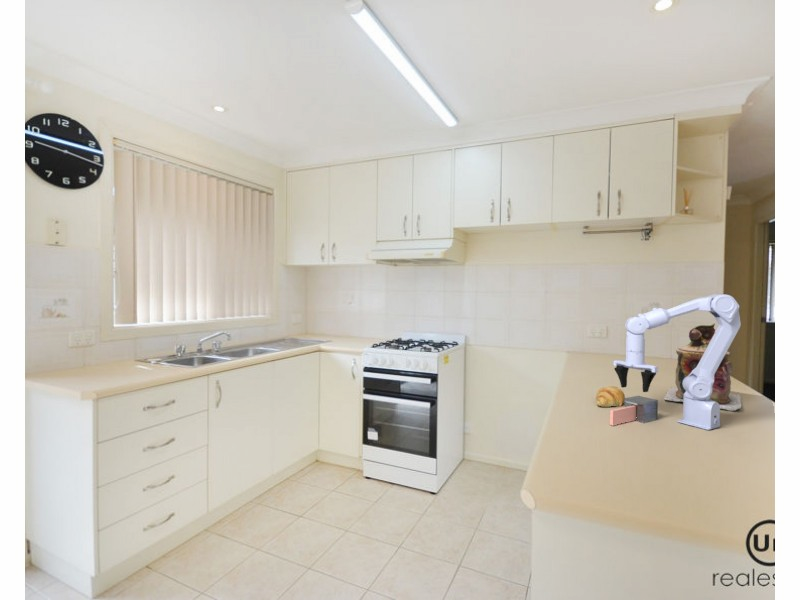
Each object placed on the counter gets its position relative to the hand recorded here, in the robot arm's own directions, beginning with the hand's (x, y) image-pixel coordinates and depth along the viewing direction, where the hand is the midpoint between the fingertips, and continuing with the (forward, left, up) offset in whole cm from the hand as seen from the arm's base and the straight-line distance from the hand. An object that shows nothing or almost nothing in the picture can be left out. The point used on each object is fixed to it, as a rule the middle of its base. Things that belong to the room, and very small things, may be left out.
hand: (634, 389), depth 142 cm
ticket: (-2, +10, -10) cm, 14 cm away
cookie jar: (0, -47, -10) cm, 48 cm away
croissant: (+15, -9, -10) cm, 20 cm away
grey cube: (-2, 0, -10) cm, 10 cm away
